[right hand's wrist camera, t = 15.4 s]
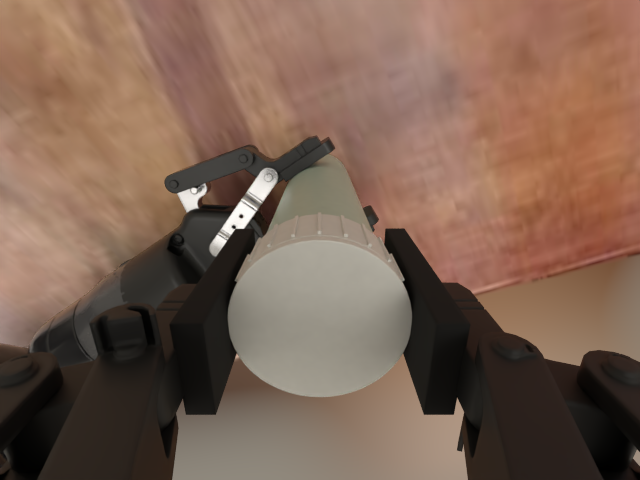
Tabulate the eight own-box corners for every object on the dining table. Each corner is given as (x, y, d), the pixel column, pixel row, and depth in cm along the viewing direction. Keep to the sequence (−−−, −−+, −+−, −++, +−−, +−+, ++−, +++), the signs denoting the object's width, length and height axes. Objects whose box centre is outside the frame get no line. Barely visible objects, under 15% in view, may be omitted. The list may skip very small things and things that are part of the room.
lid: (210, 289, 12) (186, 330, 10) (314, 176, 11) (313, 194, 8) (323, 372, 14) (324, 425, 11) (429, 281, 12) (455, 321, 10)
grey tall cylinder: (336, 143, 28) (370, 214, 9) (356, 198, 30) (418, 349, 11) (281, 165, 29) (212, 272, 10) (304, 217, 30) (279, 392, 12)
